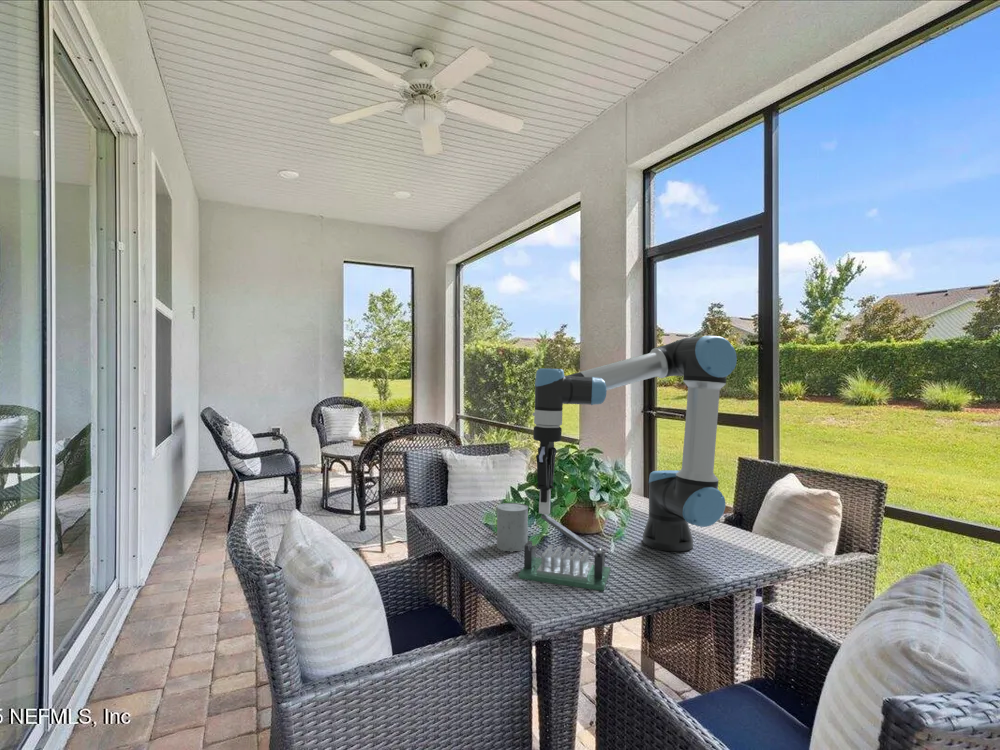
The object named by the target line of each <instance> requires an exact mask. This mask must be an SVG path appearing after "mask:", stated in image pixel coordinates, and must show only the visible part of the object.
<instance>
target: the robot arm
mask: <svg viewBox="0 0 1000 750" xmlns="http://www.w3.org/2000/svg"><path fill="white" fill-rule="evenodd" d="M737 361H738V358H737V353H736V350H735V347H734V346H733V345H732V344H731V342H730V341H729V340H728V339H727V338H725V337H722V336H720V335H719V336H717V335H704V336H696V337H685V338H681V339H678V340H675V341H673V342H670V343H668V344H665V345H662V346H658V347H655V348H652V349H651V350H650V352H649V353H645V354H642V355H638V356H633V357H630V358H626V359H622V360H619V361H615V362H612V363H608V364H605V365H601V366H596V367H593V368H590V369H586V370H581V371H579V372H575V373H572V374H568V375H565V371H564V369H562V368H544V367H543V368H542V367H541V368H538V369H537V370H536V372H535V381H534V382H535V383H534V411H533V412H532V416H533V418H534V419H533V424H534V427H533V432H532V433H533V438H532V439H533V440H534V441H537V442H539V447H538V448H537V454H536V455H535V458H536V470H537V471H536V473H537V476H536V477H537V480H536V481H537V486H536V490H539V496H538V498H539V499H538V500H539V501H538V514H541V515H542V514H547V515H548V516H550V514H551V499H552V498H551V495H552V493H551V491H552V489H553V490H554V489H555V485H554V478H555V465H556V464H555V463H556V456H557V455H556V454H557V451H558V450H557V448H556V447H555V443H556V442H557V443H558V442H561V441H562V432H563V431H562V429H563V428H562V427H561V426H562V425H563V411H564V409H563V405H591V406H594V405H602V404H603V403H604V401H605V400H606V397H607V391H611V390H612V389H616V388H619V387H624V386H627V385H631V384H634V383H638V382H642V381H644V380H648V379H649V380H650V379H652V378H656V377H657V378H658V379H664V378H669V377H675V376H676V377H678V376H681V377H683V378H682V379H683V380H682V381H683V383H684V384H685V385H686V386H687V398H686V399H687V400H686V411H685V421H684V422H685V425H684V434H683V435H684V436H683V437H684V438H683V448H682V449H683V450H682V462H681V469H680V470H676V469H675V470H669V469H667V470H653V471H652V472H650V473H649V478H648V519H647V521H646V524H645V528H644V530H643V532H642V543H643V544H645V546H647V547H650V548H651V549H654V550H655V549H656V550H659V551H664V552H686V551H689V550H692V549H693V548H694V538H693V535H692V531H691V528H690V525H692V526H693V525H694V526H696V527H701V528H708V527H710V526H713V525H715V524H716V523H717V521H720V519H721V518H722V517H723V515H724V513H725V510H726V505H727V504H726V499H725V496H724V495H723V493H722V491H720V490H719V478H718V477H717V476H716V474H715V473H714V469H715V468H714V467H715V459H716V458H715V454H716V445H717V431H718V417H719V407H720V406H719V403H720V390H722V388H723V387H725V386H726V385H727V377H728V376H729V375H731V374H732V372H733V371H734V370H735V368H736V366H737ZM689 524H690V525H689Z"/></svg>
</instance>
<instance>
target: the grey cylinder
mask: <svg viewBox="0 0 1000 750" xmlns="http://www.w3.org/2000/svg"><path fill="white" fill-rule="evenodd" d="M496 509H497V510H496V512H497V513H496V515H497V517H496V522H497V523H496V524H497V525H496V548H497V549H498V550H499V549H500V550H499V551H502V550H503V551H502V552H505V551H510V552H509V553H512V552H511V551H520V550H524V545H525V544H526V543H527V542H528V541H529V540H528V535H529V534H528V533H529V531H528V530H529V528H528V527H529V526H528V525H529V524H528V521H529V519H528V518H529V517H528V516H529V506H528V505H526V504H524V503H519V502H505V503H500V504H498V505H497V506H496ZM520 552H521V551H520Z"/></svg>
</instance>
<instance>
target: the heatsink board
mask: <svg viewBox="0 0 1000 750" xmlns="http://www.w3.org/2000/svg"><path fill="white" fill-rule="evenodd" d="M553 546H554V545H553V544H549V545H548V546H547V547H546V549H545V550H544V552H543V553H542V554H541V557H536V550H537V549H536V547H537V546H536V545H533V541H531V540H528V541H527V543H526V544H525V545H524V551H523V552H524V553H523V554H524V556H523V557H524V558H523V559H524V560H523V561H524V563H523V568H522V569H521V570H520V571H519V572H518V579H522V580H527V581H532V582H533V581H534V582H540V583H548V584H554V585H555V584H556V585H561V586H567V587H575V588H582V589H587V590H588V589H589V590H595V591H601V592H604V591H605V589H606V586H607V582H608V580H609V576H610V574H611V567H609V566H606V564H605V561H606V559H605V558H606V555H605V554H606V552H605V551H604V550H603V551H602V553H601V555H600V556H599V555H597V551H596V552H595V555H594V559H593V560H594V561H593V562H594V563H593V562H590V561H589V560H590V557H589V555H590V554H589V553H590V552H589V551H588V550H586V549H584V552H583V554H582V556H581V558H580V553H581V552H580V548H578V547H577V548H576V549H575V550H574V552H572V555H571V547H570V546H567V547H566V548H565V550H564V552H562V545H558V546H557V548H556V549H555V550H553Z"/></svg>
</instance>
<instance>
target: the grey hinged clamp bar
mask: <svg viewBox="0 0 1000 750" xmlns="http://www.w3.org/2000/svg"><path fill="white" fill-rule="evenodd" d="M540 518H541V519H542V520H543V521H544V522H547V523H548V524H549V525H550V526H552V527H553V528H555V529H557V530H558V531H559V532H561V533H562V534H564V535H565V536H566V537H568V538H569V539H571V540H572V541H573V542H575V543H576V544H578V545H579V546H581V547H582V548H583V549H584V550H588V551H589V553H590V554H594V551H595V550H596V547H594V546H593V545H591V544H590V543H588V542H587V541H586V540H584V539H582V538H581V537H580V536H579V535H577V534H576V533H574V532H573V531H571V530H570V529H568V528H567V527H566V526H564V525H562V524H561V523H560V522H558V521H557V520H555V519H554V518H553V517H551V516H550V515H547V514H541V516H540ZM597 548H598V549H597V550H596V552H597V555H599V556H600V555H601V553H602V551H604V548H603V547H602V546H599V547H597Z"/></svg>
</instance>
